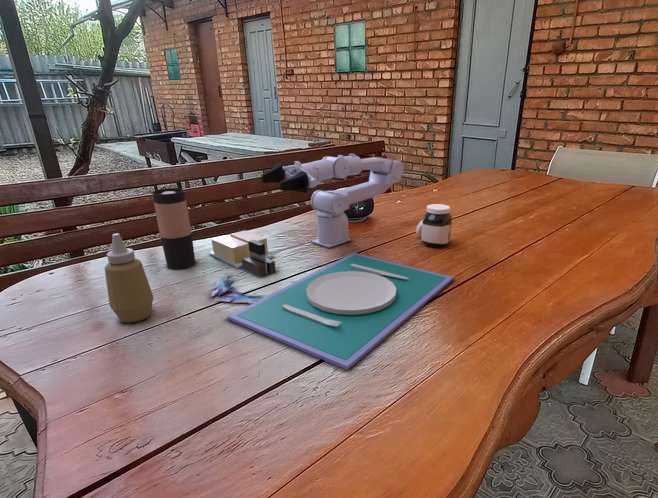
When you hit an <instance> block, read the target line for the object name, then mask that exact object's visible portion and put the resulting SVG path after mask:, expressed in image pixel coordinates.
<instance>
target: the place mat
mask: <svg viewBox="0 0 658 498" xmlns="http://www.w3.org/2000/svg"><path fill="white" fill-rule="evenodd" d="M453 281H454V276H451V275H446V274H442V273H438V272H434V271H430V270H426V269H422V268H417V267H413V266H409V265H405V264H401V263H397V262H393V261H389V260H386V259H381V258H378V257H373V256H370V255H365V254H360V253H358V252H352V253H350V254H348V255H346V256H344V257H342V258H340V259H338V260H336V261H334V262H332V263H330V264H328V265H326V266H324V267H322V268H320V269H318V270H316V271H314V272H313V273H310V274H308V275H306V276H304V277H302V278H300V279H299V280H296V281H294V282H293V283H290V284H289V285H286V286H285V287H283V288H280V289H279V290H277V291H275V292H273V293H270V294H268V295H266V296H264V297H262V298H263V299H262V298H260V299H261V300H259V301H257V302H255V303H252V304H248V305H247V306H244V307H243V308H241V309H238V310H237V311H235V312H232V313H231V314H229V315H227V320H229V321H231V322H233V323H236V324H238V325H239V326H242V327H245V328H247V329H250V330H252V331H254V332H257V333H259V334H261V335H264V336H266V337H268V338H270V339H273V340H275V341H278V342H279V343H282V344H285V345H287V346H290V347H292V348H295V349H297V350H299V351H301V352H303V353H305V354H308V355H311V356H313V357H315V358H317V359H320V360H322V361H325V362H327V363H330V364H332V365H334V366H336V367H339V368H342V369H344V370H346V371H348V370H349V369H351V368H352V367H353V366H354V365H356V363H358V362H359V361H360V360H361V359H363V358H364V357H365V356H366V355H367V354H368V353H370V351H372V350H373V349H374V348H375V347H377V346H378V345H379V344H380V343H381V342H382V341H384V340H385V339H386V338H387V337H389V335H391V334H392V333H393V332H394V331H395V330H396V329H398V328H399V327H401V325H403V324H404V323H405V322H406V321H407V320H409V318H410V317H412V316H413V315H414V314H415V313H417V312H418V311H419V310H420V309H421V308H422V307H423V306H425V305H426V304H428V302H429V301H431V299H433V298H434V297H435V296H436V295H438V294H439V293H440V292H441V291H442V290H444V289H445V288H446V287H447V286H448V285H449V284H451V283H452V282H453Z"/></svg>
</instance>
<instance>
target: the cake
mask: <svg viewBox="0 0 658 498" xmlns="http://www.w3.org/2000/svg"><path fill="white" fill-rule="evenodd" d="M250 240H256V241H258V242H261V243H264V244H265V253H266V254H264V255H265V256H266V258H268V259H273V257H274V256H273V254H270V253H269V250H268V249H269V248H268V239H267V238H266V237H264V236H262V235H258V234H257V233H253V232H250V231H248V230H241V231H240V230H239V231H237V232H233V233H230V235H229V234H226V235H220V236H217V237H213V238H211V244H212V251H209V255H210V256H212V257H214V258H216V259H218V260H220V261H222V262H225V263H226V264H228V265H230V266H233V267H234V268H237V269H243V265H242V258H245V257H249V258H250V253H249V243H248V241H250Z"/></svg>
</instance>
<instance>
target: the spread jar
mask: <svg viewBox="0 0 658 498" xmlns="http://www.w3.org/2000/svg"><path fill="white" fill-rule="evenodd" d="M450 210H451V206H449V205H447V204H441V203H432V204H428V205H426V213H425V214H424V216H423V219H422V220H420V221H419V222H418V223H417V225H416V228H415V234H416V235H417V236H418V237H419V238H420V239H421V242H422V243H423V244H424V245H425V246H427V247H430V248H444V247H446V246H448V244H449V243H450V240H451V236H452V229H453V228H452V227H453V226H452V225H453V217H452V215H451V214H450V213H451V211H450Z"/></svg>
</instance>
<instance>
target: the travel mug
mask: <svg viewBox="0 0 658 498" xmlns="http://www.w3.org/2000/svg"><path fill="white" fill-rule="evenodd" d="M151 193H152V200H153V204H154V205H153V206H154V209H155V215H156V221H157V226H158V231H159V236H160V241H161V245H162V250H163V254H164V258H165V262H166V266H167V268H168V269H170V270H171V269H172V270H184V269H188V268H190V267H192V266H194V265H195V264H196V256H195V249H194V242H193V233H192V227H191V222H190V216H189V210H188V204H187V199H186V194H185V190H184V189H183V188H179V187H168V188H159V189H156V190H154V191H152V192H151Z"/></svg>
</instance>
